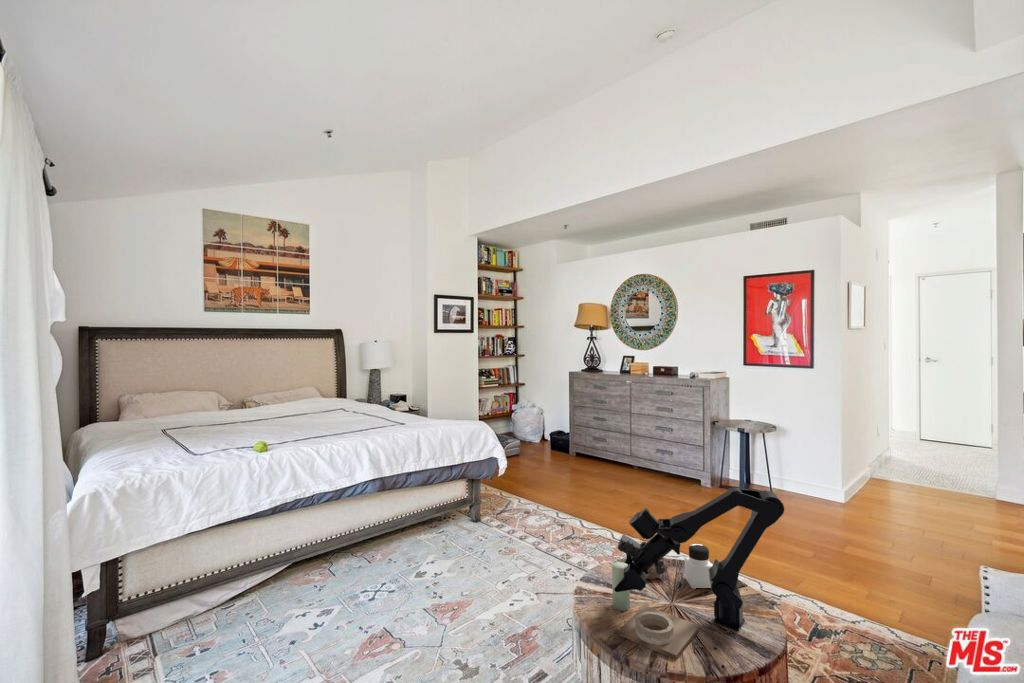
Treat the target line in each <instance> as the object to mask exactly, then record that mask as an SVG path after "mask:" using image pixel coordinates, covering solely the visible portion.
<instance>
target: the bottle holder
mask: <svg viewBox="0 0 1024 683" xmlns="http://www.w3.org/2000/svg"><path fill="white" fill-rule="evenodd" d="M700 626H701V625H699V624H696V623H694V622H691V621H688V620H686V619H683V618H681V617H677V616H675V615H672V614H669V613H666V612H664V611H662V610H658V608H657V609H656V608H654V607H651V606H649V605H645V604H644V605H643V606H642V607H641V608H640V609H639V610H638V611H637V612H636V613H635V614H633V616H632V617H630V618H629V619H628V620H627V621H626V622H625V623H624V624H623V625H622V626H620V627H619V629H617V635H618V636H619V637H622V638H624V637H625V638H624V639H626V638H627V640H629V639H630V640H629V641H630V642H633V641H634V642H633V643H636V644H638V643H639V644H638V645H640V644H641V646H642V645H643V646H642V647H645V648H647V649H650V650H652V651H654V652H657V653H659V654H661V655H663V656H666V657H668V658H670V659H672V660H675V661H677V660H678V659H679V657H680V656H681V655H682V654H683V652H685V650H686V648H687V647H688V646H689V645H690V643H691V642H692V641H693V639H694V638H695V637H696V635H697V634H698V633H699V632H700V631H701V629H700V628H701V627H700Z"/></svg>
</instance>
